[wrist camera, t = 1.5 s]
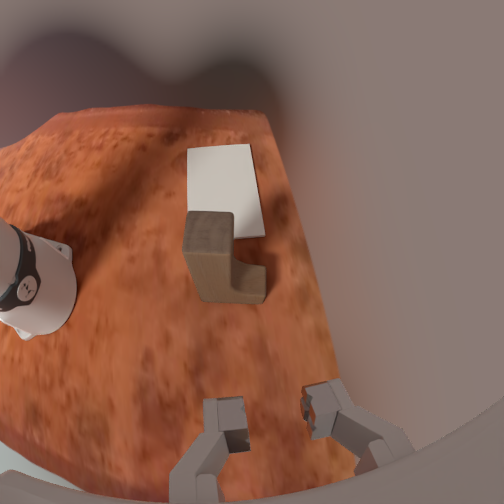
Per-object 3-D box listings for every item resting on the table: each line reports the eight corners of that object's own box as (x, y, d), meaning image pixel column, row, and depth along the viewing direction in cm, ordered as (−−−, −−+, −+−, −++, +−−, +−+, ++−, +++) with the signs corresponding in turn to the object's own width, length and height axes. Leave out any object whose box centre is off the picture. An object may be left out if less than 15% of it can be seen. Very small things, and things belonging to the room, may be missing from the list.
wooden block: (263, 275, 43) (282, 213, 27) (263, 304, 42) (284, 257, 25) (203, 273, 43) (186, 208, 26) (201, 302, 41) (180, 252, 25)
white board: (264, 236, 46) (265, 234, 45) (189, 243, 45) (188, 241, 44) (249, 146, 54) (249, 143, 53) (187, 150, 52) (187, 148, 52)
